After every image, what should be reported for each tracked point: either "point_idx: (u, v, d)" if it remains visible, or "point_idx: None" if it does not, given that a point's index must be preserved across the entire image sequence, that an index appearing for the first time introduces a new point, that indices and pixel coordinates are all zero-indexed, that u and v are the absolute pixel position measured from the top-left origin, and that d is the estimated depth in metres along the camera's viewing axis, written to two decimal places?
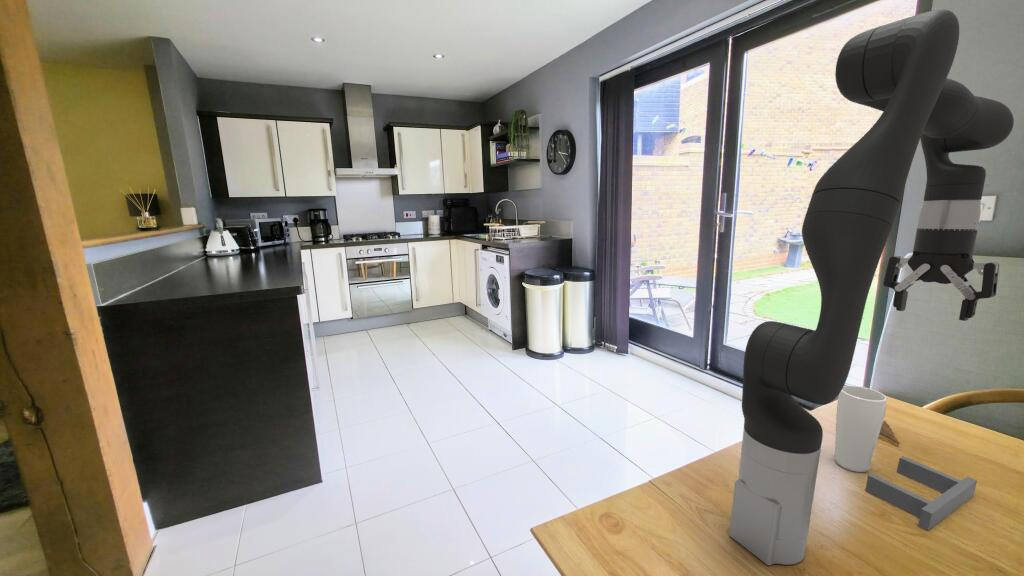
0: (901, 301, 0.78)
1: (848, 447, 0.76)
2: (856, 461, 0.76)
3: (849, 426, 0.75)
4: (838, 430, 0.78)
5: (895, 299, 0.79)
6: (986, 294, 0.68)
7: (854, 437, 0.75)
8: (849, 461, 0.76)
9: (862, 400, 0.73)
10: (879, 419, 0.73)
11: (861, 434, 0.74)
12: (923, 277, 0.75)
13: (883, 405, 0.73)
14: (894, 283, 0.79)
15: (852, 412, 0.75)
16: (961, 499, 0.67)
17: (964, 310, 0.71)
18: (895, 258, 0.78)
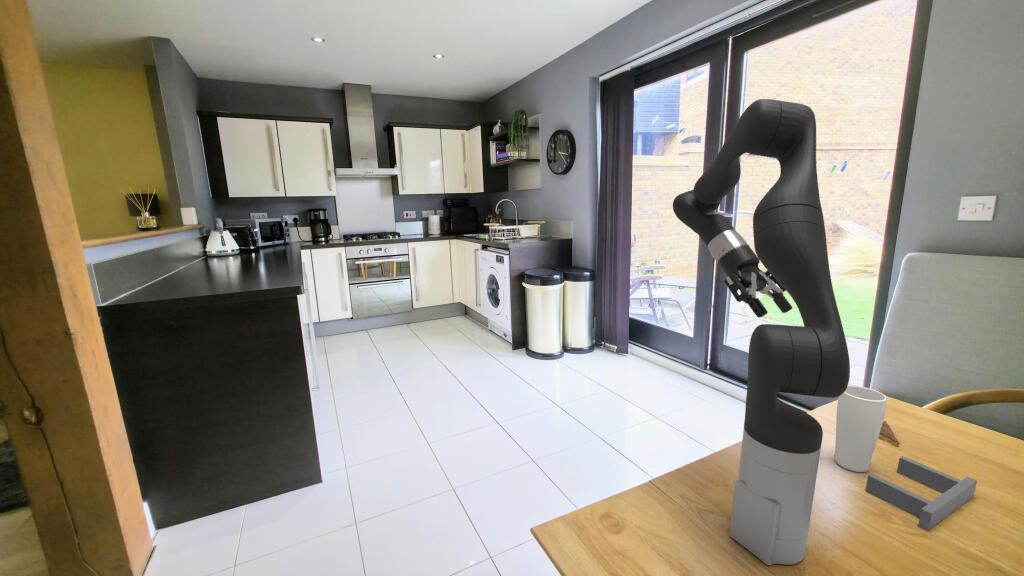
0: (762, 305, 0.85)
1: (848, 447, 0.76)
2: (856, 461, 0.76)
3: (849, 426, 0.75)
4: (838, 430, 0.78)
5: (757, 305, 0.85)
6: None
7: (854, 437, 0.75)
8: (849, 461, 0.76)
9: (862, 400, 0.73)
10: (879, 419, 0.73)
11: (861, 434, 0.74)
12: (755, 284, 0.89)
13: (883, 405, 0.73)
14: None
15: (852, 412, 0.75)
16: (961, 499, 0.67)
17: (786, 301, 0.89)
18: (734, 274, 0.88)
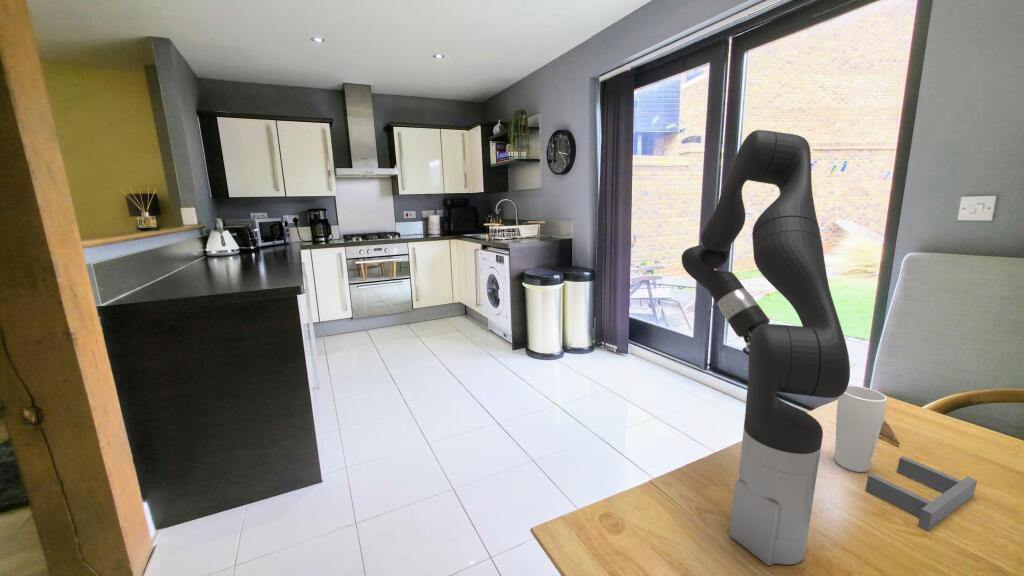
0: None
1: (848, 447, 0.76)
2: (856, 461, 0.76)
3: (849, 426, 0.75)
4: (838, 430, 0.78)
5: None
6: None
7: (854, 437, 0.75)
8: (849, 461, 0.76)
9: (862, 400, 0.73)
10: (879, 419, 0.73)
11: (861, 434, 0.74)
12: None
13: (883, 405, 0.73)
14: None
15: (852, 412, 0.75)
16: (961, 499, 0.67)
17: None
18: None
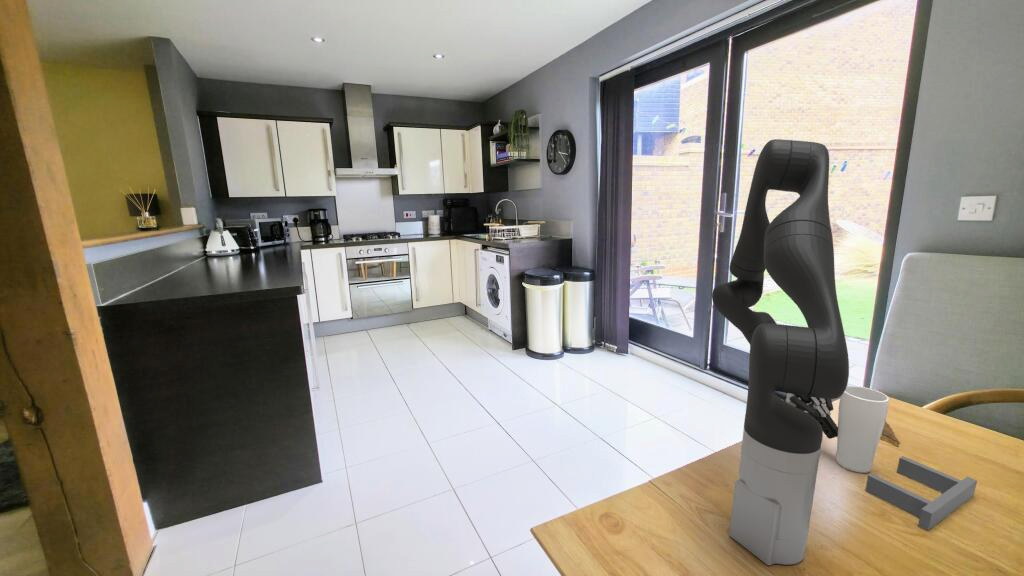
0: (833, 425, 0.80)
1: (850, 447, 0.76)
2: (857, 461, 0.76)
3: (851, 427, 0.75)
4: (840, 430, 0.78)
5: (828, 426, 0.80)
6: (831, 406, 0.83)
7: (856, 438, 0.75)
8: (851, 462, 0.76)
9: (864, 401, 0.73)
10: (881, 420, 0.73)
11: (863, 434, 0.74)
12: None
13: (885, 406, 0.73)
14: None
15: (853, 412, 0.74)
16: (961, 499, 0.67)
17: (835, 425, 0.81)
18: (793, 396, 0.81)
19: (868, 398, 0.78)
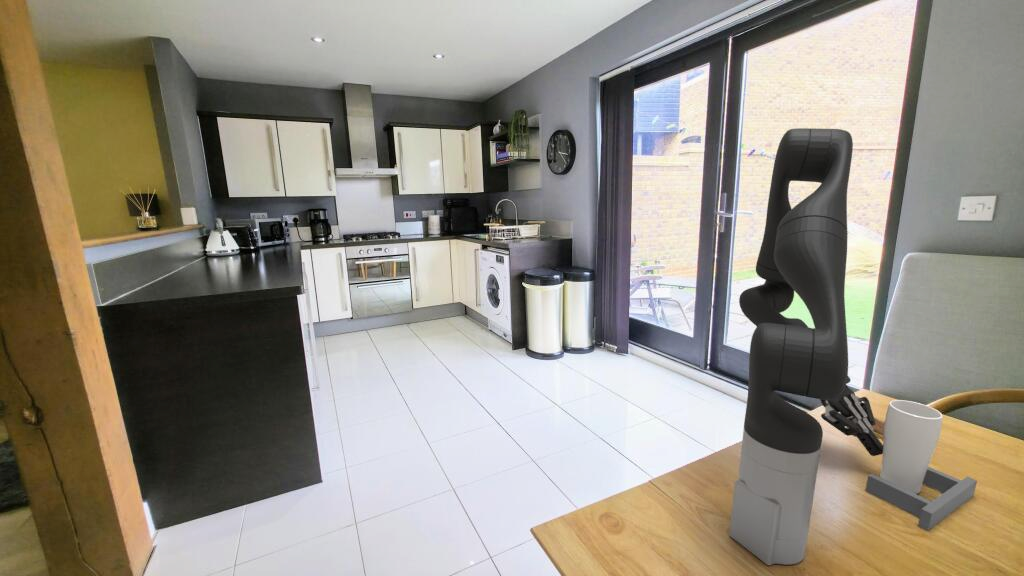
0: None
1: (898, 468, 0.70)
2: (907, 482, 0.70)
3: (900, 446, 0.69)
4: (886, 449, 0.72)
5: (871, 443, 0.74)
6: (873, 421, 0.77)
7: (906, 457, 0.69)
8: (899, 483, 0.70)
9: (917, 417, 0.67)
10: (935, 438, 0.67)
11: (914, 454, 0.68)
12: None
13: (939, 423, 0.67)
14: None
15: (904, 430, 0.68)
16: (961, 499, 0.67)
17: (878, 441, 0.75)
18: (833, 410, 0.76)
19: (916, 413, 0.72)
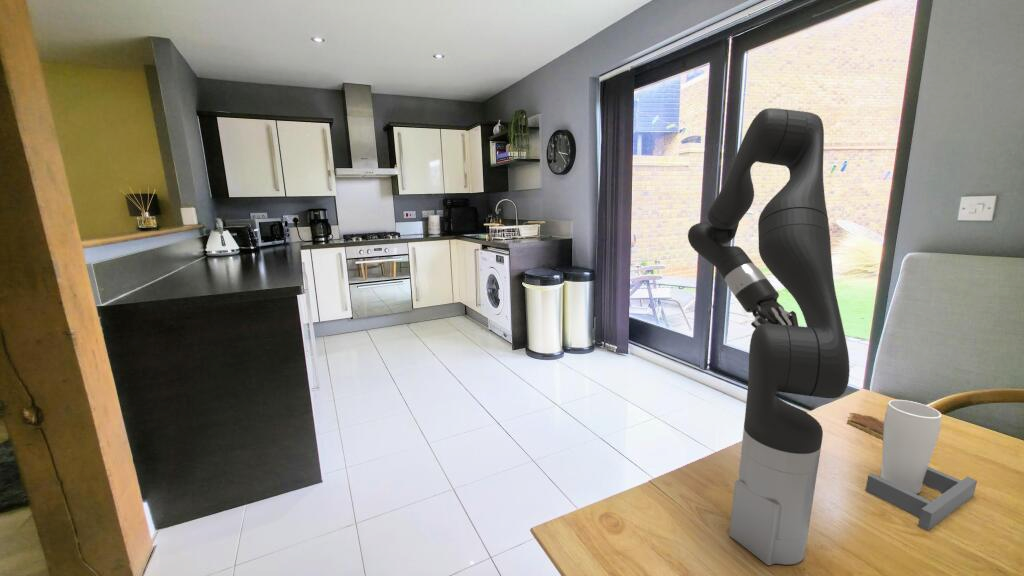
0: None
1: (898, 467, 0.70)
2: (907, 482, 0.70)
3: (900, 445, 0.69)
4: (886, 448, 0.72)
5: None
6: None
7: (906, 457, 0.69)
8: (900, 483, 0.70)
9: (916, 417, 0.67)
10: (934, 437, 0.67)
11: (914, 453, 0.68)
12: None
13: (938, 422, 0.67)
14: None
15: (903, 429, 0.69)
16: (961, 499, 0.67)
17: None
18: (761, 317, 0.86)
19: (915, 413, 0.72)
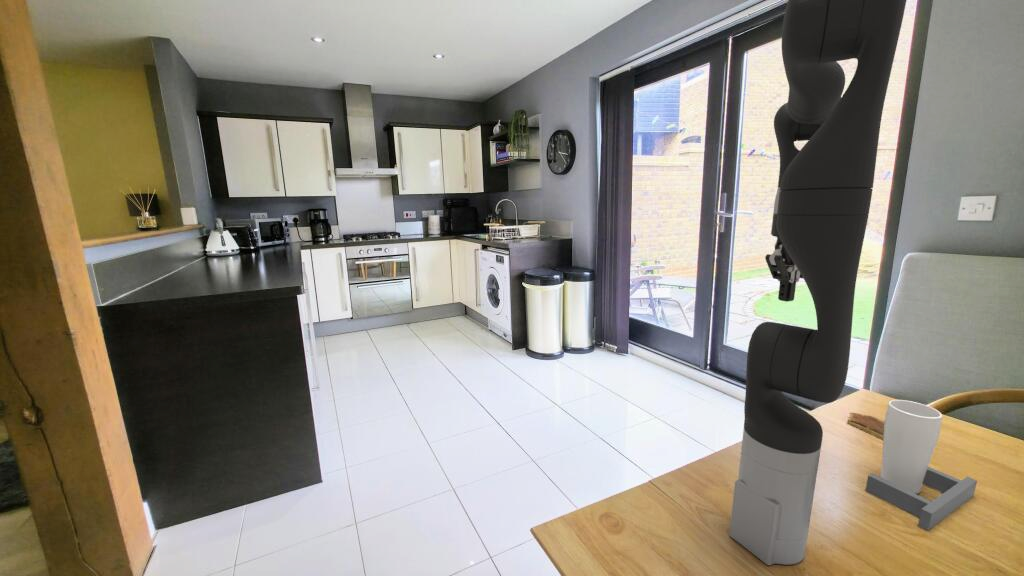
0: None
1: (898, 467, 0.70)
2: (907, 482, 0.70)
3: (900, 445, 0.69)
4: (886, 448, 0.72)
5: (787, 291, 0.79)
6: None
7: (906, 457, 0.69)
8: (900, 483, 0.70)
9: (916, 417, 0.67)
10: (934, 437, 0.67)
11: (914, 454, 0.68)
12: None
13: (939, 422, 0.67)
14: None
15: (904, 429, 0.69)
16: (961, 499, 0.67)
17: (794, 292, 0.80)
18: (780, 256, 0.75)
19: (916, 413, 0.72)
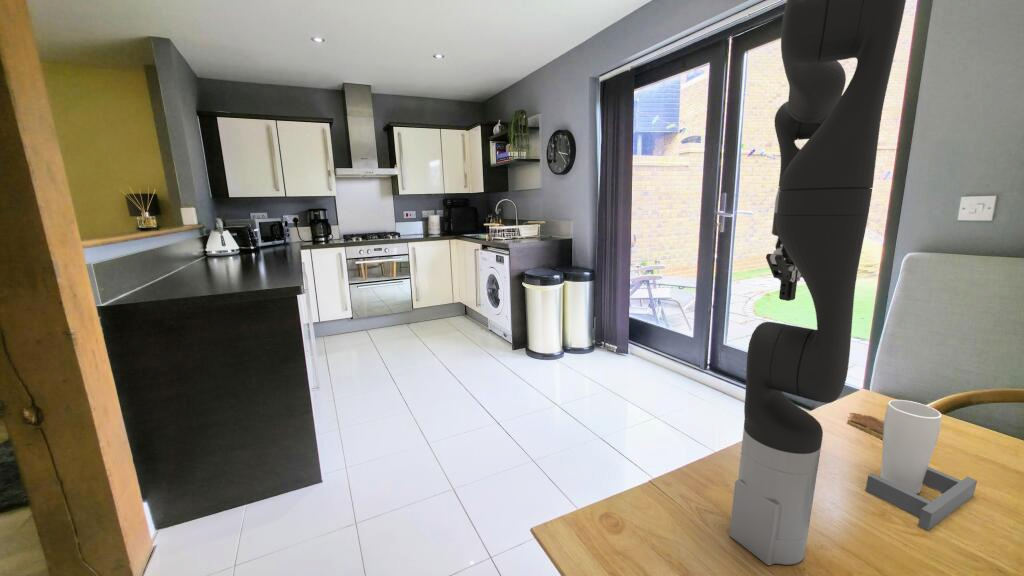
0: None
1: (898, 467, 0.70)
2: (907, 482, 0.70)
3: (900, 445, 0.69)
4: (886, 449, 0.72)
5: (788, 290, 0.79)
6: None
7: (906, 457, 0.69)
8: (900, 483, 0.70)
9: (916, 417, 0.67)
10: (934, 437, 0.67)
11: (914, 454, 0.68)
12: None
13: (938, 422, 0.67)
14: None
15: (903, 429, 0.69)
16: (961, 499, 0.67)
17: (794, 291, 0.79)
18: (781, 255, 0.75)
19: (915, 413, 0.72)
